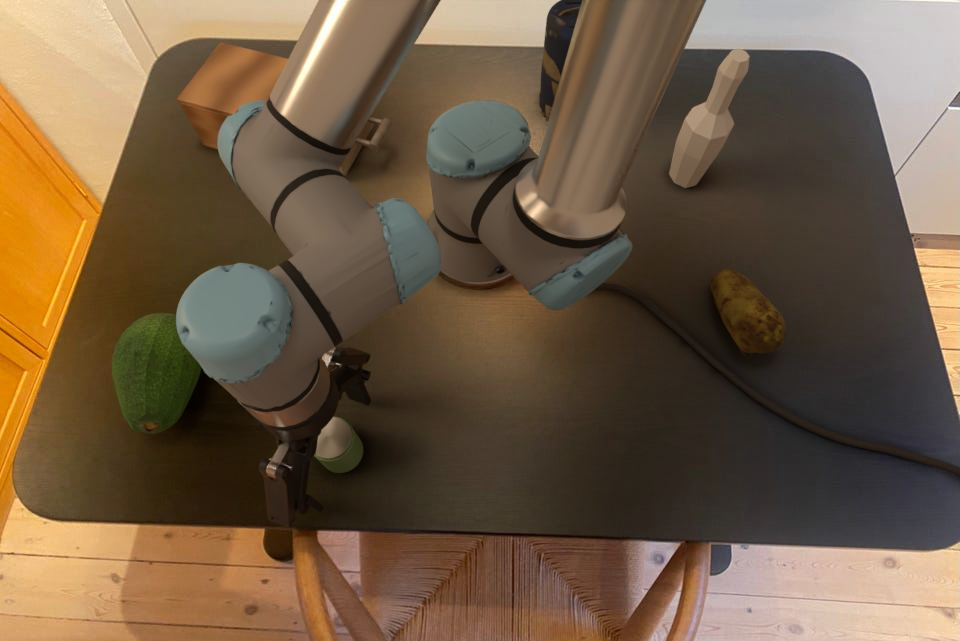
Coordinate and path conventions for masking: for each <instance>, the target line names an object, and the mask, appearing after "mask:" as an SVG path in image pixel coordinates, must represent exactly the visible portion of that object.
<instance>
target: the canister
mask: <svg viewBox="0 0 960 641" xmlns="http://www.w3.org/2000/svg"><path fill="white" fill-rule="evenodd" d="M581 3H582V0H558V1H557V2H555V3H554V4H553V5H552V6H551V7H550V9H549V11H548V13H547V15H546V21H545V32H544V41H543V50H542V60H541V68H540V69H541V72H540V87H539V88H540V90H539V95H538V105H539V108H540V110H541V111H542V113H543V114H544V115H545V117H547V118H548V119H549V117H550V114H551V110H552V107H553V103H554V99H555V96H556V92H557V89H558V85H559V82H560V78H561V74H562V71H563V67H564V64H565V60H566V57H567V53H568V50H569V46H570V42H571V39H572V35H573V32H574V28H575V25H576V21H577V18H578V14H579V10H580V7H581Z"/></svg>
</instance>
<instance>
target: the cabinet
mask: <svg viewBox="0 0 960 641" xmlns="http://www.w3.org/2000/svg"><path fill="white" fill-rule="evenodd" d="M288 59H289V58H287V57H283V56H278V55H275V54H270V53H267V52H262V51H258V50H254V49H251V48H246V47H242V46H238V45H234V44H230V43H226V42H222V41H220V42H219V43H218V44H217V46H216V47H215V48H214V50H213V51H212V52H211V53H210V55H209V56H208V58H207V59H206V60H205V61H204V63H203V64H202V65H201V66H200V68H199V69H198V71H197V72H196V73H195V74H194V76H193V77H192V78H191V80H190V81H189V82H188V83H187V85H186V86H185V87H184V89H183V90H182V91H181V92H180V94H179V95H178V96H177V98H176V100H177V102H178V104H179V105H180V107H181V109H182V110H183V112H184V114H185V115H186V118H187V119H188V120H189V123H190V124H191V126H192V128H193V129H194V131H195V132H196V134H197V137H198V138H199V139H200V141H201V143H202V145H203V146H204V147H208V148H211V149H215V150H218V134H219V131H220V128H221V126H222V124H223V122H224V121H225V119H226V118H227V117H228V116H231V115H232V114H234V113H235V112H236V111H238V108H239V107H240V106H242V105H244V104H246V103H249V102H253V101H259V100H262V101H268V99H269V97H270V94H271V92H272V90H273V88H274V86H275V84H276V82H277V80H278V78H279V76H280V74H281V72H282V70H283V68H284V66H285V65H286V63H287V61H288Z"/></svg>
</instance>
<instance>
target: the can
mask: <svg viewBox="0 0 960 641" xmlns="http://www.w3.org/2000/svg"><path fill="white" fill-rule="evenodd" d="M363 455H364V444H363V442H362V440H361V438H360V436H359V435H358V434H357V432H356V430H355V429H354V428H353V426H352V424H351V423H350V422H349V421H348V420H347V419H345V418H344V417H343V418H342V417H339V416H333V418H332V419H331V421H330V422H329V423H328V424H327V425H326V426H325V427H324V428H323V429H322V430H321V434H320V435H319V436H318V441H317V449H316V454H315V455H314V456H313V457H315V459H316V460H317V461H319V463H321V465H322V466H324V467H325V469H327V470H328V471H329V472H332V473H336V474H343V473H348V472H351V471H352V470H353V469H355V468H357V466H358V465H359V464H360V462H361V461H362V459H363Z"/></svg>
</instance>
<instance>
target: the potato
mask: <svg viewBox="0 0 960 641" xmlns="http://www.w3.org/2000/svg"><path fill="white" fill-rule="evenodd" d="M710 282H711V283H710V291H711V294H712V296H713V297H714V298H713V302H714V305H715V307H716V308H717V311H718V314H719V317H720V319H721V321H722V323H723V324H724V326H725V329H726V330H727V331H728V333H729V334H730V336H731V338H732V339H733V342H734V343H735V344H736V345H737V347H738V350H739V352H740V353H741V354H742V355H744V356H745V357H746V356H750V355H764V354H773V353H774V352H776V351H778V350H779V349H780V348H781V347H782V346H783V345H784V342H785V340H786V335H787V328H786V322H785V320H784V317H783V316H782V314H781V313H780V312H779V311H778V309H777V308H776V307H775V306H774V304H773V302H771V301H770V300H769V298H767V297H766V296H765V295H764V294H763V293H762V292H761V291H760V290H759V288H758V287H757V286H756V285H755V284H754V283H753V282H752V281H751V280H750V279H749V278H748V277H746V276H745V275H744V274H742V273H741V272H740V271H737V270H735V269H732V268H726V269H723V270H722V269H721V270H720V271H718V272H716V273H715V275H714V276H713V277H712V278H711V280H710Z"/></svg>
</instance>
